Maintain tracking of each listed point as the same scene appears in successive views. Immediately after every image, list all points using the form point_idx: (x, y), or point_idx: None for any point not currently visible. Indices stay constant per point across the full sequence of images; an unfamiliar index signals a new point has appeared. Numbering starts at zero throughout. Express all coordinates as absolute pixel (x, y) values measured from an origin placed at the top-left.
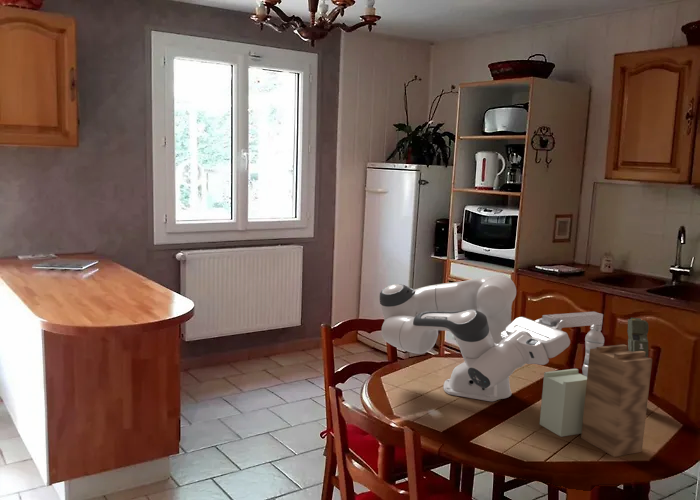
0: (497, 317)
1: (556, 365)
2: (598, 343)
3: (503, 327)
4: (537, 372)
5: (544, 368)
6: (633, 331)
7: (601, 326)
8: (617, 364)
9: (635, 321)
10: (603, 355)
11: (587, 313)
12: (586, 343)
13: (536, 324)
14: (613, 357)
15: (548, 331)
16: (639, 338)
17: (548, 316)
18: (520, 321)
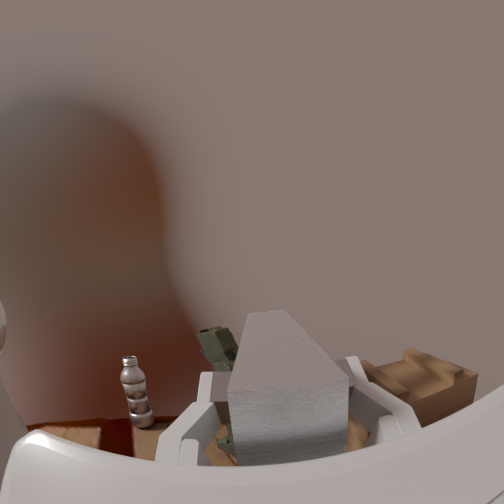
0: None
1: (94, 421)
2: (141, 382)
3: (1, 428)
4: (84, 445)
5: (86, 433)
6: (224, 348)
7: (136, 358)
8: (461, 393)
9: (218, 332)
10: (421, 402)
11: (265, 317)
12: (126, 387)
13: (247, 500)
14: (448, 385)
15: (460, 466)
16: (234, 356)
17: (287, 378)
18: (53, 489)
